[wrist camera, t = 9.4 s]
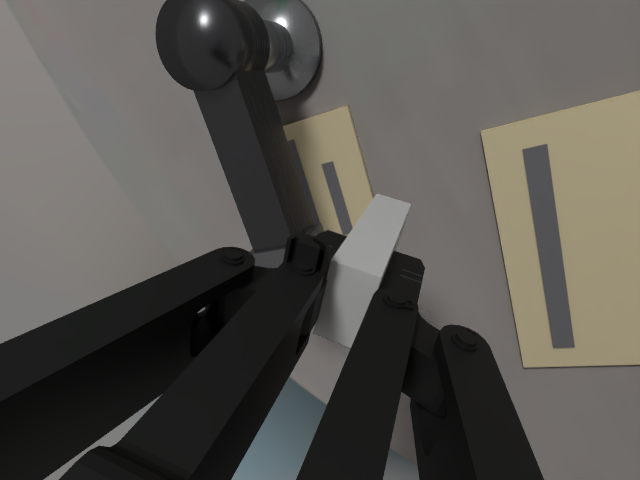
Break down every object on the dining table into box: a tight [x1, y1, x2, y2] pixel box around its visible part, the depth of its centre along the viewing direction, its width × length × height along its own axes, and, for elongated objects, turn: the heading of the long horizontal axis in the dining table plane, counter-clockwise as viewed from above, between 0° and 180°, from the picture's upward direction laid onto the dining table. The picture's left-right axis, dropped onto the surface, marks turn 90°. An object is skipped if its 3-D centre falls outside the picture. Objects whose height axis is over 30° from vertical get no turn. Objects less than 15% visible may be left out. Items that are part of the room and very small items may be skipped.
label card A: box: [283, 105, 374, 236], centre depth 27 cm, size 9×7×1 cm
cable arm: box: [156, 0, 324, 268], centre depth 21 cm, size 14×4×4 cm, turn 18°
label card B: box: [481, 90, 640, 368], centre depth 23 cm, size 16×12×1 cm
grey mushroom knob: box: [244, 0, 322, 100], centre depth 23 cm, size 6×6×5 cm
